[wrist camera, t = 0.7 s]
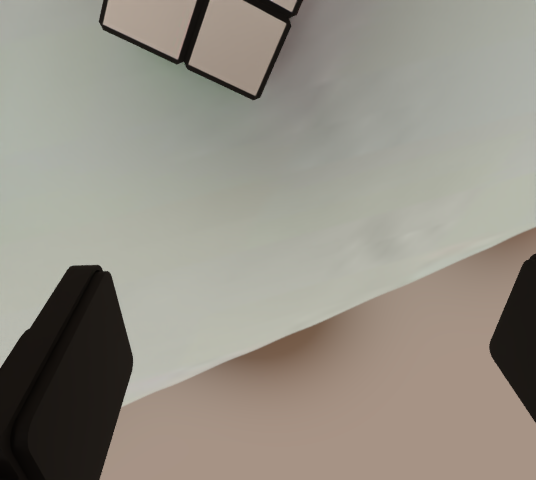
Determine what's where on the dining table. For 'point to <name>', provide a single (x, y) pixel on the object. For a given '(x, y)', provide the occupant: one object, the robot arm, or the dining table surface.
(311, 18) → the dining table surface
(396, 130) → the dining table surface
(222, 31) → the puzzle cube
